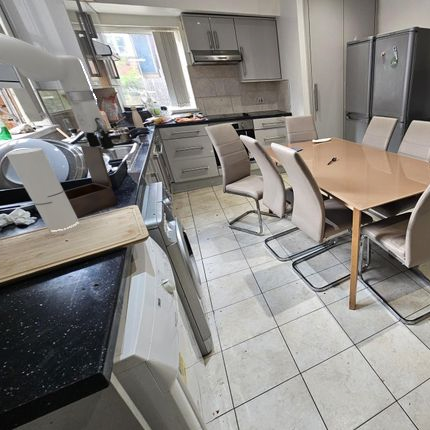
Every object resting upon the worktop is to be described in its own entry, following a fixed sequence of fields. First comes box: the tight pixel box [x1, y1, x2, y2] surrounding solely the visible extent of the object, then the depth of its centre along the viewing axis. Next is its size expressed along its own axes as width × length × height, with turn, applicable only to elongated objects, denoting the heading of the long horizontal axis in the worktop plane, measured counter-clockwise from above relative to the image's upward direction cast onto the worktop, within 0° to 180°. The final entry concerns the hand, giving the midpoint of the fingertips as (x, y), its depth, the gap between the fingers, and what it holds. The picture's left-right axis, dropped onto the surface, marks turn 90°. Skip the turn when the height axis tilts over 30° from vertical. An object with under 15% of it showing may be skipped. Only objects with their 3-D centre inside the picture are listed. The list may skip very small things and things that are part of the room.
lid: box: [80, 144, 113, 188], centre depth 101 cm, size 14×13×5 cm
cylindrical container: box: [5, 147, 82, 236], centre depth 78 cm, size 7×7×25 cm
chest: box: [64, 182, 119, 219], centre depth 99 cm, size 13×13×7 cm
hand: (102, 147), depth 100 cm, fingers open, 9 cm apart
